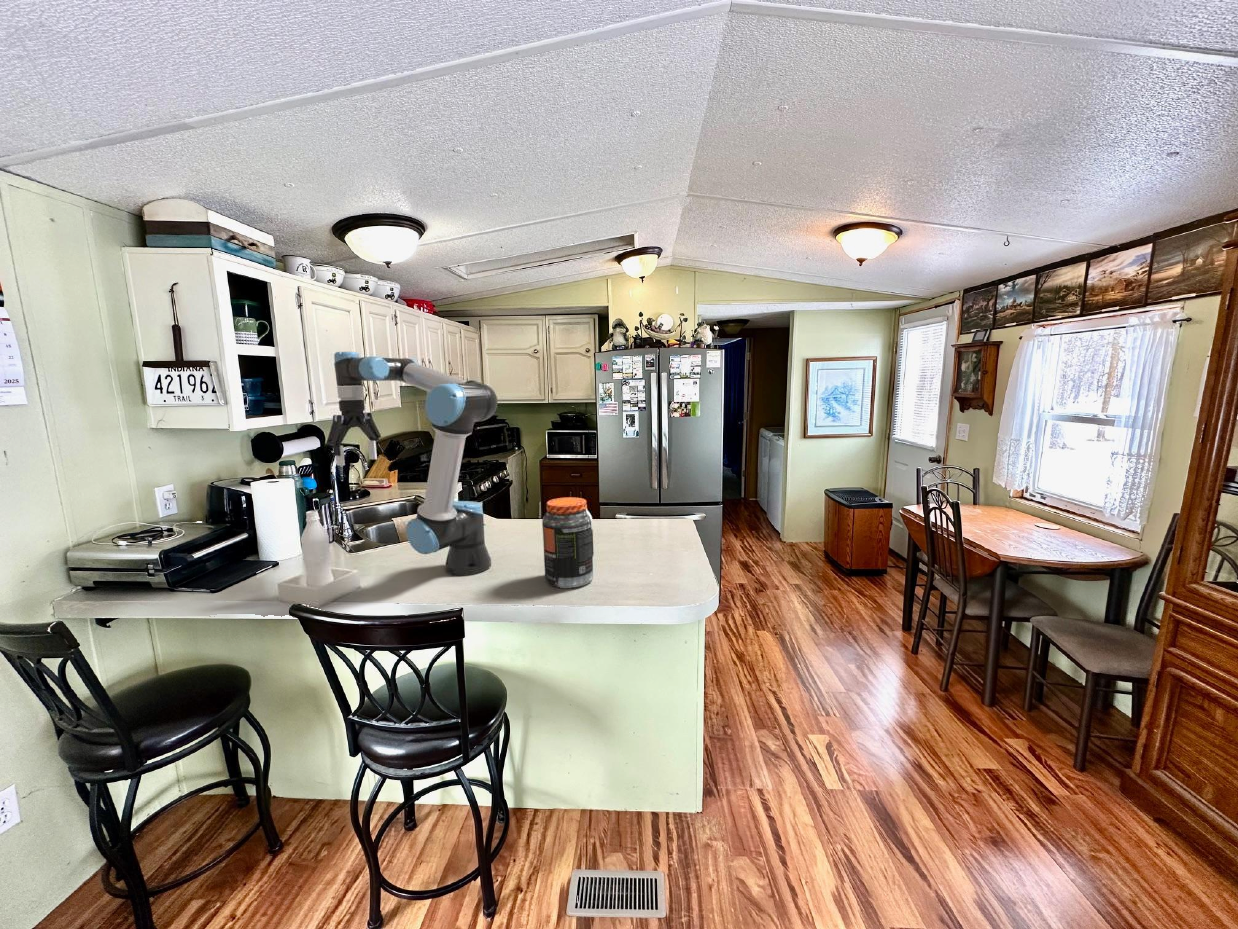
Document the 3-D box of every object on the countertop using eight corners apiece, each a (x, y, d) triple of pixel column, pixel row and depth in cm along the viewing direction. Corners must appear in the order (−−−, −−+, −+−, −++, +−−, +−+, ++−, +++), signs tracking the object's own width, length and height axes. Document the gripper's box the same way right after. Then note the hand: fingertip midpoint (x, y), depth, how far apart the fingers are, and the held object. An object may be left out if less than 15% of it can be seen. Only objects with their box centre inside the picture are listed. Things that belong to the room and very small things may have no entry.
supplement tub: (601, 574, 165) (599, 497, 160) (582, 592, 150) (580, 509, 146) (558, 568, 170) (555, 494, 166) (535, 586, 155) (532, 505, 151)
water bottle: (301, 594, 150) (292, 513, 146) (324, 585, 156) (315, 507, 152) (317, 598, 147) (307, 515, 143) (339, 589, 153) (331, 510, 149)
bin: (360, 587, 157) (358, 570, 156) (318, 608, 143) (315, 589, 142) (324, 582, 161) (322, 565, 160) (279, 601, 147) (277, 583, 146)
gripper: (371, 398, 179) (377, 456, 183) (309, 400, 156) (316, 467, 160) (388, 397, 177) (393, 457, 181) (327, 400, 154) (334, 468, 157)
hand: (357, 462), depth 170 cm, fingers open, 13 cm apart
